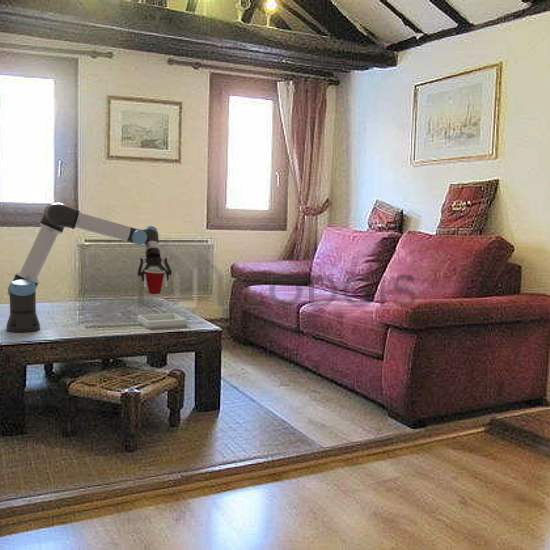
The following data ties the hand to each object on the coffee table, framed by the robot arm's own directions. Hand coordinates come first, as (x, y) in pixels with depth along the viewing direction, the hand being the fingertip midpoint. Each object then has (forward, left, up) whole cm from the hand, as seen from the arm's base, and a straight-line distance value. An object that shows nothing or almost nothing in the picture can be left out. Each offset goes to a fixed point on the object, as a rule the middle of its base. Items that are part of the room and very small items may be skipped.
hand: (155, 285), depth 326 cm
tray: (+4, +3, -21) cm, 21 cm away
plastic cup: (+1, +3, -5) cm, 6 cm away
